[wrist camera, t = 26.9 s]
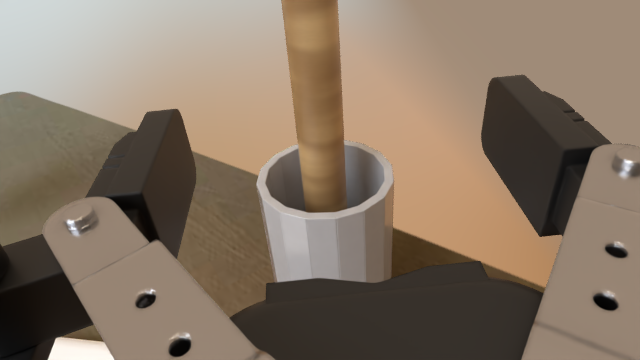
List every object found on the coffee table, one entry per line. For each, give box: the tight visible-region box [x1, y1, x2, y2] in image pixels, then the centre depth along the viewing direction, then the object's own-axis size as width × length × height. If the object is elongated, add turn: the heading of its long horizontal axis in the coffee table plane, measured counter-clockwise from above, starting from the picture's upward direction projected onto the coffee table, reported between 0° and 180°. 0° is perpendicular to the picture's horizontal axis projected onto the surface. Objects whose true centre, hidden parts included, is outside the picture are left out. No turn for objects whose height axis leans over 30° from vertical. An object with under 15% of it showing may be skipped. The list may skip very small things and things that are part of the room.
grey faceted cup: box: [257, 140, 394, 283], centre depth 29 cm, size 7×7×11 cm
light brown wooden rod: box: [281, 0, 347, 213], centre depth 25 cm, size 3×3×20 cm
